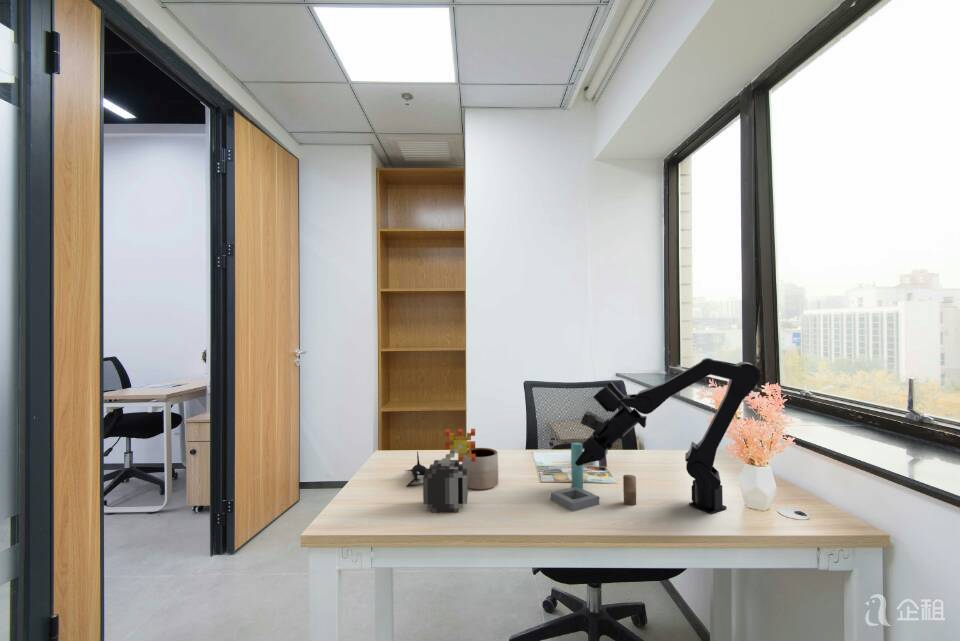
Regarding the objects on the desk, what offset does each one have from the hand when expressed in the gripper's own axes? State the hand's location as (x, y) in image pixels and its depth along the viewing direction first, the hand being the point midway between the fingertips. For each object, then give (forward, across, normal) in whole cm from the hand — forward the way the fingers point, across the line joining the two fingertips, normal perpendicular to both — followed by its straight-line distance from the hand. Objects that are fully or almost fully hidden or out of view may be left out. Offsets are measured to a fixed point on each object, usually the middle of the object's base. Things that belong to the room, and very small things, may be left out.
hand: (579, 459), depth 132 cm
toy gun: (+6, -31, +6) cm, 32 cm away
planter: (+26, +7, -14) cm, 31 cm away
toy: (+41, +10, -28) cm, 50 cm away
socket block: (+6, +10, +6) cm, 13 cm away
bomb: (+26, +26, -14) cm, 39 cm away
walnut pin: (-4, +5, +16) cm, 17 cm away
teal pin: (+7, 0, +6) cm, 9 cm away
